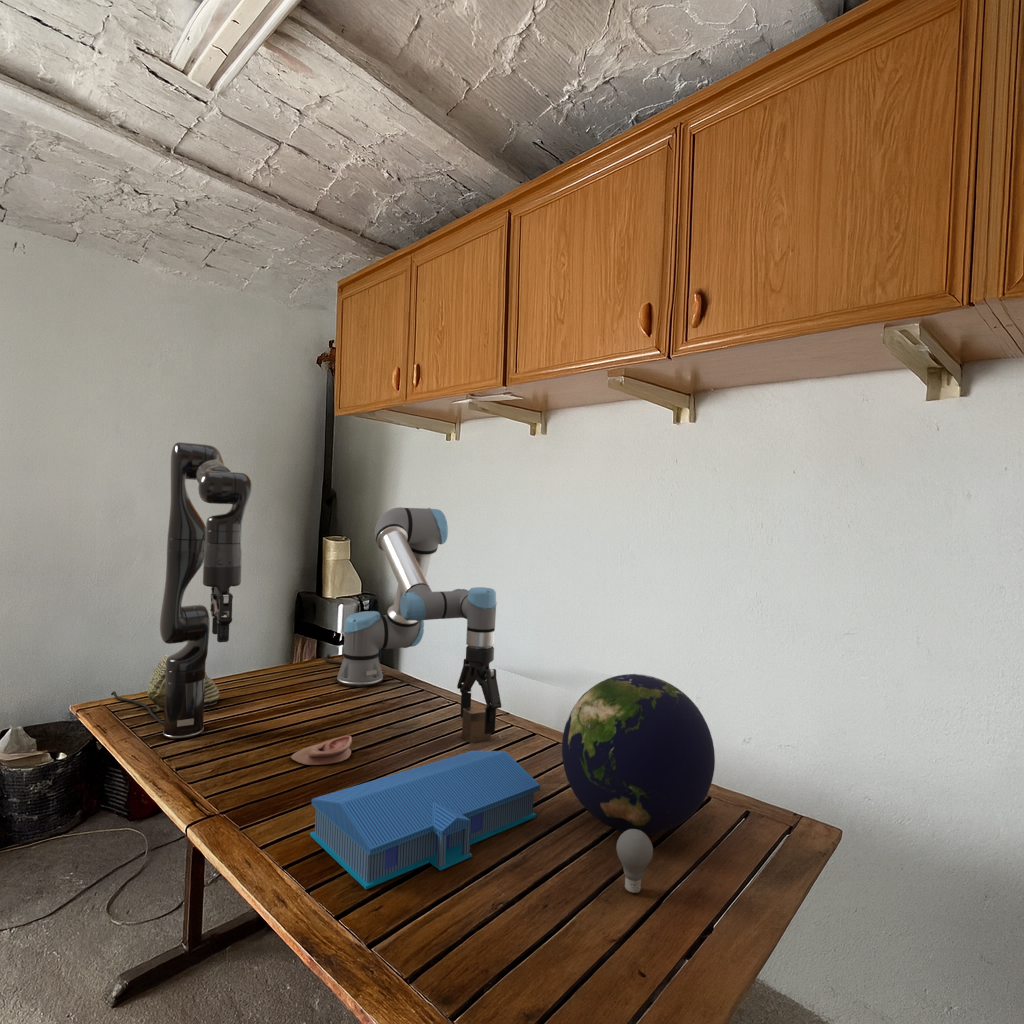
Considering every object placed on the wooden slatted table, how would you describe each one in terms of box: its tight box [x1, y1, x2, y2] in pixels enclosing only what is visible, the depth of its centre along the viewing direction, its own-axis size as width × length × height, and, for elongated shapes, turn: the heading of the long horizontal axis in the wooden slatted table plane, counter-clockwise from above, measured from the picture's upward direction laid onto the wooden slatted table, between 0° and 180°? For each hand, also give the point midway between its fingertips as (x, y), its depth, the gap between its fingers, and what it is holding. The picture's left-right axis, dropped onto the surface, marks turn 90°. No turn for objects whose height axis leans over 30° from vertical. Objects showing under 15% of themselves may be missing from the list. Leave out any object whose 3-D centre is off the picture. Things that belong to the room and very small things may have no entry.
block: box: [461, 704, 492, 744], centre depth 170 cm, size 5×6×8 cm
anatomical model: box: [290, 735, 353, 766], centre depth 154 cm, size 13×4×12 cm
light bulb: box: [615, 829, 654, 894], centre depth 106 cm, size 6×6×10 cm
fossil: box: [147, 654, 221, 712], centre depth 185 cm, size 9×18×15 cm, turn 132°
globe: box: [561, 673, 716, 836], centre depth 127 cm, size 30×30×30 cm
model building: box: [309, 750, 541, 890], centre depth 123 cm, size 39×24×10 cm, turn 132°
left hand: (220, 637), depth 138 cm, fingers open, 8 cm apart
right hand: (477, 724), depth 170 cm, fingers open, 13 cm apart
